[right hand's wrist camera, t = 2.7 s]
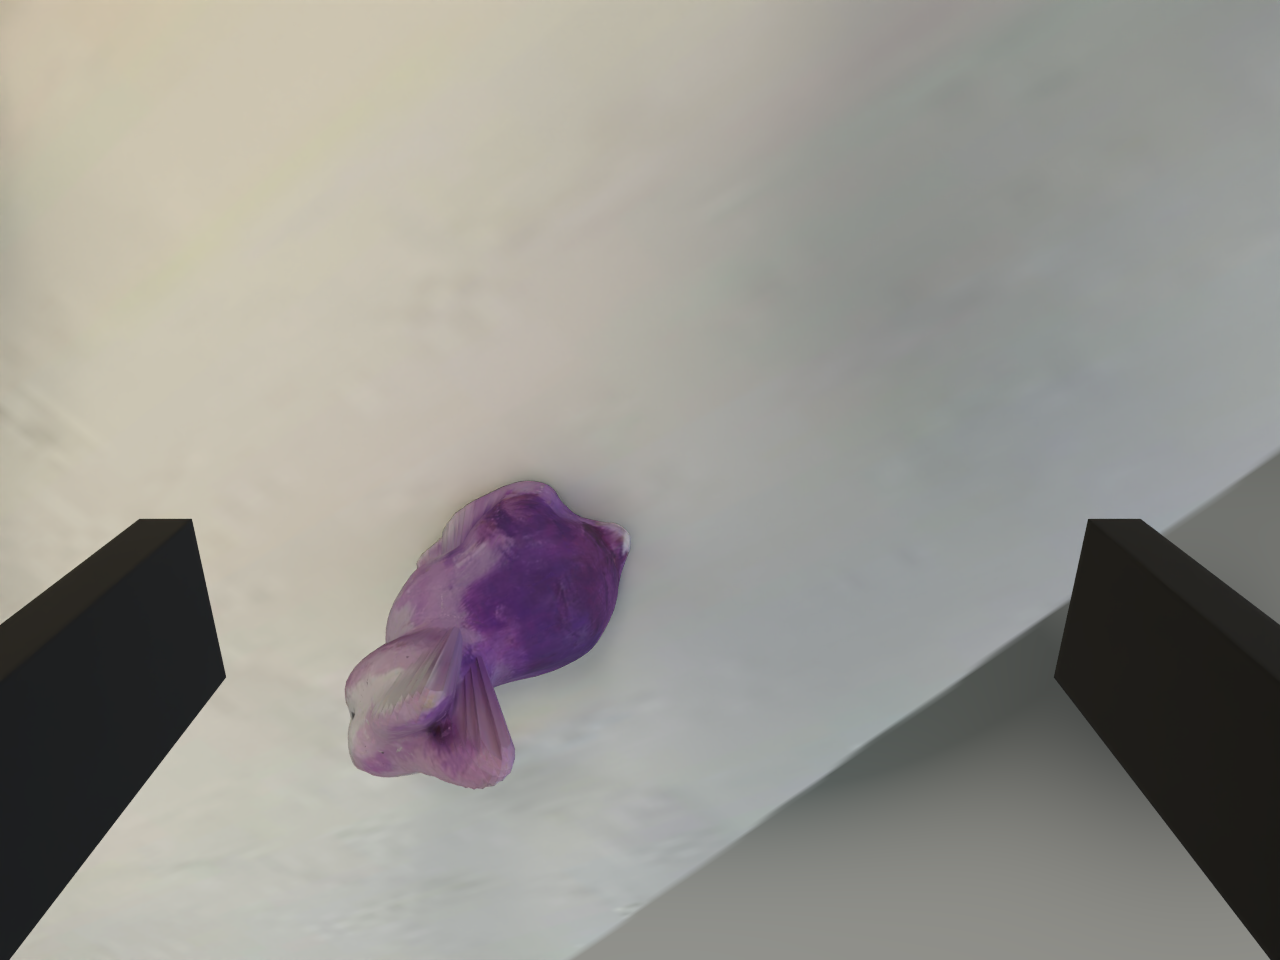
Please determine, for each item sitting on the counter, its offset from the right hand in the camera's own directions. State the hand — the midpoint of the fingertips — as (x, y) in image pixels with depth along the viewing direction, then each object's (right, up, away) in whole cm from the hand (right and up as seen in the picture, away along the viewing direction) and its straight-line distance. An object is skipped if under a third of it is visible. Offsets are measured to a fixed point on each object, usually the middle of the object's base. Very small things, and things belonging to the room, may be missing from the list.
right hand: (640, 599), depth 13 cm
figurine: (-6, -3, +29) cm, 30 cm away
